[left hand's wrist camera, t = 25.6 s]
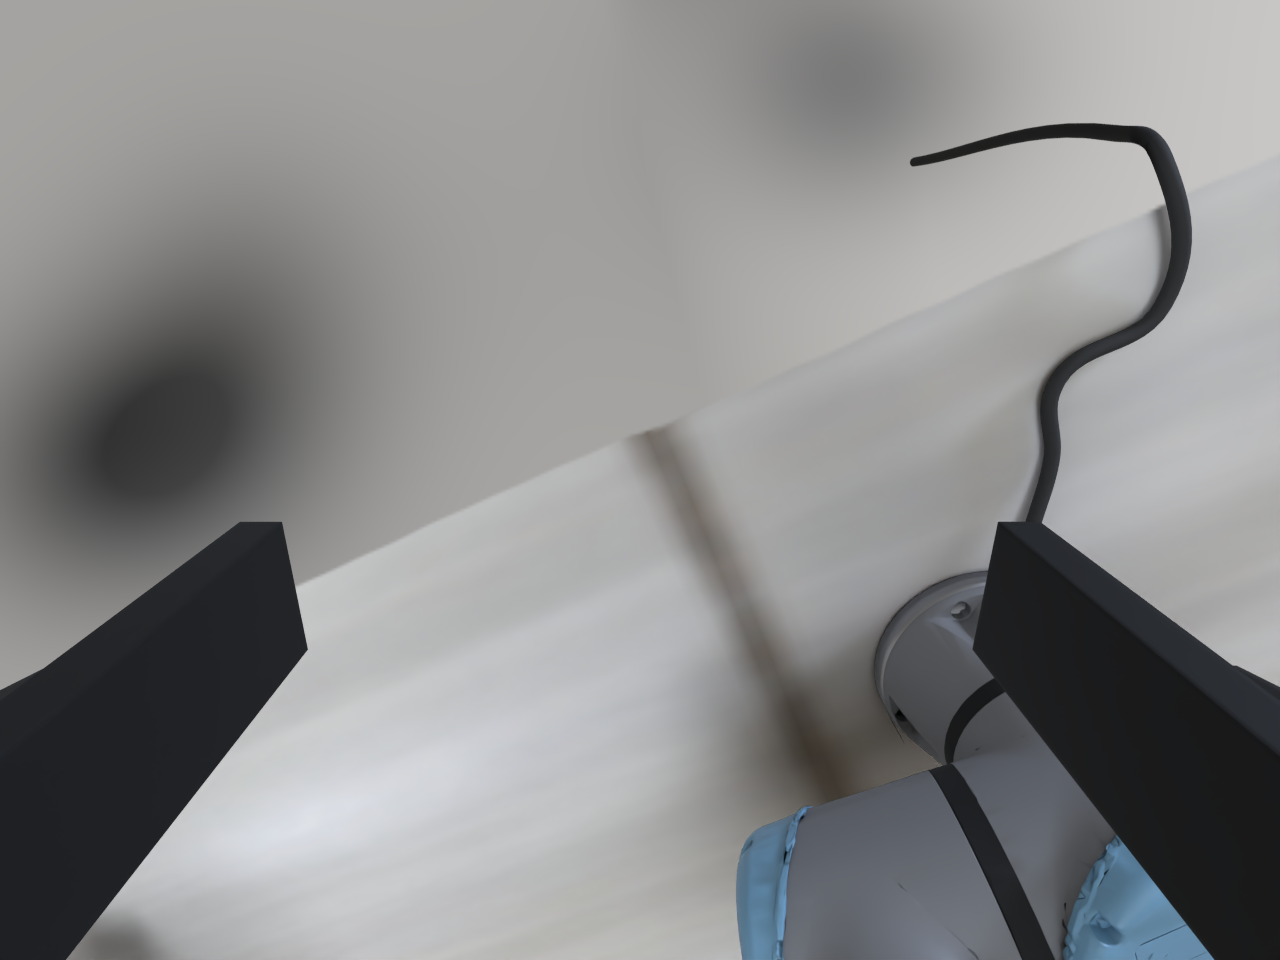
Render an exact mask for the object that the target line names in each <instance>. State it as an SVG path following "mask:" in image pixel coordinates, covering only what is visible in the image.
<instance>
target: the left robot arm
mask: <svg viewBox="0 0 1280 960" xmlns="http://www.w3.org/2000/svg"><path fill="white" fill-rule="evenodd" d="M1053 138H1087V139H1096V140H1104V141H1112V142H1127V143H1134V144H1137V145H1139V146H1141V147H1143V148H1144V149H1145V150H1146V152H1147V154H1148V155H1149V157H1150V159H1151V162H1152V164H1153V167H1154V169H1155V172H1156V174H1157V177H1158V180H1159V183H1160V186H1161V189H1162V192H1163V195H1164V198H1165V202H1166V206H1167V210H1168V215H1169V220H1170V227H1171V258H1170V263H1169V268H1168V272H1167V275H1166V279H1165V282H1164V284H1163V287H1162V289H1161V291H1160V293H1159V295H1158V297H1157V299H1156V301H1155V303H1154V305H1153V306H1152V308H1151V309H1150V311H1149V312H1148V313H1147V314H1146V315H1145V316H1144V317H1143V318H1142V319H1141V320H1139V321H1138V322H1137V323H1135V324H1134V325H1132V326H1130V327H1128V328H1127V329H1125V330H1122V331H1120V332H1118V333H1116V334H1113V335H1111V336H1109V337H1106V338H1104V339H1101V340H1099V341H1097V342H1094V343H1092V344H1090V345H1088V346H1086V347H1084V348H1082V349H1080V350H1079V351H1077V352H1075V353H1074V354H1072V355H1071V356H1070V357H1068V358H1067V359H1066V360H1065V361H1064V362H1063V363H1062V364H1061V365H1060V366H1059V367H1058V368H1057V369H1056V370H1055V372H1054V373H1053V375H1052V376H1051V377H1050V379H1049V381H1048V383H1047V385H1046V387H1045V390H1044V393H1043V396H1042V401H1041V424H1042V431H1043V439H1044V458H1043V464H1042V469H1041V474H1040V478H1039V481H1038V485H1037V488H1036V491H1035V494H1034V497H1033V500H1032V503H1031V506H1030V509H1029V512H1028V515H1027V519H1026V522H998V525H997V530H996V535H995V540H994V545H993V550H992V555H991V560H990V564H989V569H988V571H983V572H975V573H969V574H964V575H960V576H957V577H954V578H950V579H948V580H945V581H943V582H940V583H938V584H936V585H934V586H932V587H930V588H929V589H927V590H925V591H924V592H922V593H921V594H919V595H918V596H916V597H915V598H914V599H912V600H911V601H910V602H909V603H908V604H906V605H905V606H904V607H903V608H902V609H901V610H900V611H899V613H898V614H897V615H896V616H895V617H894V618H893V620H892V621H891V623H890V624H889V625H888V627H887V629H886V630H885V632H884V634H883V636H882V638H881V641H880V643H879V646H878V649H877V653H876V658H875V667H874V671H875V681H876V686H877V689H878V692H879V695H880V697H881V699H882V701H883V703H884V705H885V707H886V709H887V711H888V712H887V713H889V714H888V715H890V716H891V718H892V720H893V721H894V723H895V724H896V725H897V727H898V728H899V729H900V730H901V731H902V732H903V733H904V734H906V735H907V736H908V737H909V738H911V739H912V740H913V741H914V742H915V743H917V744H918V745H919V746H920V747H921V748H922V749H924V750H925V751H926V752H927V753H928V754H930V755H931V756H932V757H933V758H934V759H936V760H937V761H938V762H939V763H940V764H941V765H943V766H941V767H938V768H935V769H932V770H927V771H924V772H921V773H918V774H915V775H912V776H909V777H906V778H903V779H900V780H897V781H894V782H891V783H888V784H885V785H882V786H879V787H876V788H873V789H870V790H866V791H863V792H860V793H857V794H853V795H850V796H847V797H844V798H840V799H837V800H834V801H831V802H827V803H824V804H821V805H818V806H814V807H813V806H805V807H802V808H801V809H800V810H798V811H797V812H796V814H793V815H791V816H789V817H786V818H784V819H781V820H779V821H776V822H773V823H771V824H768V825H765V826H763V827H761V828H759V829H757V830H756V831H754V832H753V833H752V834H751V835H750V836H749V837H748V839H747V840H746V842H745V844H744V846H743V848H742V850H741V855H740V860H739V863H738V868H737V880H736V903H737V920H738V930H739V939H740V946H741V953H742V959H743V960H1280V687H1278V686H1276V685H1274V684H1272V683H1270V682H1268V681H1266V680H1264V679H1262V678H1260V677H1258V676H1256V675H1254V674H1252V673H1250V672H1248V671H1246V670H1244V669H1242V668H1240V667H1238V666H1232V665H1231V664H1230V663H1228V662H1227V661H1226V660H1224V659H1223V658H1222V657H1220V656H1219V655H1218V654H1216V653H1215V652H1214V651H1212V650H1211V649H1210V648H1208V647H1207V646H1206V645H1204V644H1203V643H1202V642H1200V641H1199V640H1198V639H1196V638H1195V637H1194V636H1192V635H1191V634H1189V633H1188V632H1187V631H1185V630H1184V629H1183V628H1181V627H1180V626H1179V625H1177V624H1176V623H1175V622H1173V621H1172V620H1171V619H1169V618H1168V617H1167V616H1165V615H1164V614H1163V613H1161V612H1160V611H1159V610H1157V609H1156V608H1155V607H1153V606H1152V605H1151V604H1149V603H1148V602H1147V601H1145V600H1144V599H1143V598H1141V597H1140V596H1139V595H1137V594H1136V593H1135V592H1133V591H1132V590H1131V589H1129V588H1128V587H1126V586H1125V585H1124V584H1122V583H1121V582H1120V581H1118V580H1117V579H1116V578H1114V577H1113V576H1112V575H1110V574H1109V573H1108V572H1106V571H1105V570H1104V569H1102V568H1101V567H1100V566H1098V565H1097V564H1096V563H1094V562H1093V561H1092V560H1090V559H1089V558H1088V557H1086V556H1085V555H1084V554H1082V553H1081V552H1080V551H1078V550H1077V549H1076V548H1074V547H1073V546H1072V545H1070V544H1069V543H1068V542H1066V541H1065V540H1063V539H1062V538H1061V537H1059V536H1058V535H1057V534H1055V533H1054V532H1053V531H1051V530H1050V529H1049V528H1047V527H1046V526H1045V525H1043V524H1042V520H1043V517H1044V514H1045V511H1046V508H1047V505H1048V502H1049V499H1050V496H1051V493H1052V490H1053V487H1054V483H1055V480H1056V476H1057V471H1058V467H1059V462H1060V454H1061V441H1060V431H1059V423H1058V400H1059V396H1060V393H1061V391H1062V389H1063V387H1064V385H1065V383H1066V382H1067V380H1068V379H1069V378H1070V376H1071V375H1072V374H1073V373H1074V372H1075V371H1076V370H1078V369H1079V368H1080V367H1082V366H1083V365H1085V364H1086V363H1088V362H1090V361H1092V360H1094V359H1096V358H1098V357H1100V356H1103V355H1105V354H1107V353H1110V352H1112V351H1115V350H1117V349H1119V348H1122V347H1124V346H1126V345H1129V344H1131V343H1133V342H1135V341H1137V340H1138V339H1140V338H1142V337H1144V336H1145V335H1146V334H1148V333H1149V332H1150V331H1152V330H1153V329H1154V328H1155V327H1156V326H1157V325H1158V324H1159V323H1160V322H1161V321H1162V320H1163V319H1164V318H1165V316H1166V315H1167V313H1168V312H1169V310H1170V309H1171V307H1172V306H1173V304H1174V302H1175V300H1176V298H1177V296H1178V294H1179V291H1180V289H1181V287H1182V284H1183V282H1184V279H1185V275H1186V272H1187V269H1188V265H1189V260H1190V255H1191V245H1192V226H1191V216H1190V210H1189V204H1188V200H1187V196H1186V192H1185V188H1184V185H1183V182H1182V179H1181V176H1180V173H1179V170H1178V167H1177V165H1176V162H1175V160H1174V157H1173V155H1172V152H1171V150H1170V148H1169V146H1168V145H1167V143H1166V141H1165V140H1164V139H1163V138H1162V137H1161V136H1160V134H1159V133H1157V132H1156V131H1155V130H1153V129H1151V128H1149V127H1145V126H1123V125H1111V124H1100V123H1065V124H1054V125H1045V126H1038V127H1032V128H1026V129H1022V130H1017V131H1012V132H1008V133H1004V134H1000V135H997V136H993V137H989V138H986V139H982V140H978V141H975V142H972V143H968V144H965V145H962V146H958V147H955V148H951V149H948V150H944V151H940V152H936V153H932V154H928V155H924V156H919V157H914V158H912V159H911V160H910V165H911V166H913V167H914V166H921V165H927V164H932V163H937V162H941V161H946V160H950V159H954V158H958V157H962V156H966V155H969V154H973V153H977V152H981V151H985V150H989V149H993V148H997V147H1002V146H1006V145H1011V144H1016V143H1022V142H1027V141H1034V140H1042V139H1053ZM307 650H308V648H307V643H306V638H305V633H304V628H303V623H302V619H301V614H300V609H299V604H298V599H297V594H296V589H295V584H294V579H293V574H292V569H291V564H290V560H289V555H288V550H287V545H286V540H285V535H284V530H283V525H282V522H239V523H238V524H237V525H235V526H234V527H233V528H231V529H230V530H229V531H227V532H226V533H225V534H223V535H222V536H221V537H219V538H218V539H217V540H215V541H214V542H213V543H211V544H210V545H208V546H207V547H206V548H205V549H203V550H202V551H200V552H199V553H198V554H196V555H195V556H194V557H192V558H191V559H190V560H188V561H187V562H186V563H184V564H183V565H182V566H180V567H179V568H178V569H176V570H175V571H174V572H172V573H171V574H170V575H168V576H167V577H166V578H164V579H163V580H162V581H160V582H159V583H158V584H156V585H155V586H154V587H152V588H151V589H150V590H148V591H147V592H145V593H144V594H143V595H141V596H140V597H139V598H137V599H136V600H135V601H133V602H132V603H131V604H129V605H128V606H127V607H125V608H124V609H123V610H121V611H120V612H119V613H117V614H116V615H115V616H113V617H112V618H111V619H109V620H108V621H107V622H105V623H104V624H103V625H101V626H100V627H99V628H97V629H96V630H95V631H93V632H92V633H91V634H89V635H88V636H87V637H85V638H84V639H82V640H81V641H80V642H78V643H77V644H76V645H74V646H73V647H72V648H70V649H69V650H68V651H66V652H65V653H64V654H62V655H61V656H60V657H58V658H57V659H56V660H54V661H53V662H52V663H50V664H49V665H48V666H46V667H45V668H44V669H42V670H40V671H38V672H36V673H34V674H32V675H30V676H28V677H26V678H24V679H22V680H20V681H18V682H16V683H14V684H12V685H10V686H8V687H6V688H4V689H2V690H0V960H66V959H67V958H68V956H69V955H70V954H71V952H72V951H73V950H74V949H75V947H76V946H77V945H78V943H79V942H80V941H81V940H82V938H83V937H84V936H85V934H86V933H87V932H88V931H89V929H90V928H91V927H92V926H93V924H94V923H95V922H96V920H97V919H98V918H99V917H100V915H101V914H102V913H103V911H104V910H105V909H106V908H107V906H108V905H109V904H110V902H111V901H112V900H113V899H114V897H115V896H116V895H117V893H118V892H119V891H120V890H121V888H122V887H123V886H124V884H125V883H126V882H127V881H128V879H129V878H130V877H131V876H132V874H133V873H134V872H135V870H136V869H137V868H138V867H139V865H140V864H141V863H142V861H143V860H144V859H145V858H146V856H147V855H148V854H149V852H150V851H151V850H152V849H153V847H154V846H155V845H156V843H157V842H158V841H159V840H160V838H161V837H162V836H163V834H164V833H165V832H166V831H167V829H168V828H169V827H170V826H171V824H172V823H173V822H174V820H175V819H176V818H177V817H178V815H179V814H180V813H181V811H182V810H183V809H184V808H185V806H186V805H187V804H188V802H189V801H190V800H191V799H192V797H193V796H194V795H195V793H196V792H197V791H198V790H199V788H200V787H201V786H202V784H203V783H204V782H205V781H206V779H207V778H208V777H209V776H210V774H211V773H212V772H213V770H214V769H215V768H216V767H217V765H218V764H219V763H220V761H221V760H222V759H223V758H224V756H225V755H226V754H227V752H228V751H229V750H230V749H231V747H232V746H233V745H234V743H235V742H236V741H237V740H238V738H239V737H240V736H241V734H242V733H243V732H244V731H245V729H246V728H247V727H248V725H249V724H250V723H251V722H252V720H253V719H254V718H255V717H256V715H257V714H258V713H259V711H260V710H261V709H262V708H263V706H264V705H265V704H266V702H267V701H268V700H269V699H270V697H271V696H272V695H273V693H274V692H275V691H276V690H277V688H278V687H279V686H280V684H281V683H282V682H283V681H284V679H285V678H286V677H287V675H288V674H289V673H290V672H291V670H292V669H293V668H294V667H295V665H296V664H297V663H298V661H299V660H300V659H301V658H302V656H303V655H304V654H305V652H306V651H307ZM890 716H889V717H890ZM891 718H890V719H891ZM892 720H891V721H892ZM893 721H892V723H893ZM894 723H893V724H894ZM894 726H895V725H894ZM895 728H896V727H895ZM896 730H897V729H896ZM897 732H898V730H897ZM898 733H899V732H898ZM899 735H900V734H899ZM900 737H901V736H900ZM901 739H902V738H901ZM902 741H903V740H902Z"/></svg>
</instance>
